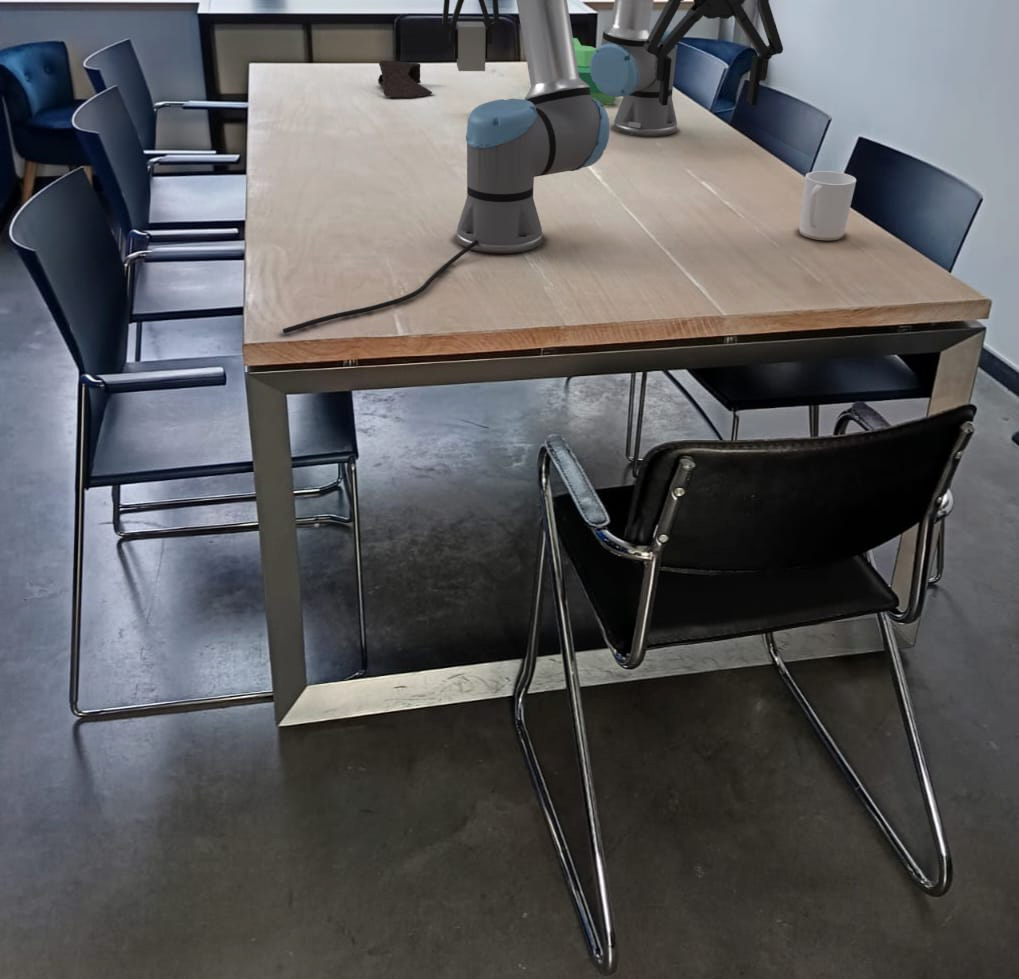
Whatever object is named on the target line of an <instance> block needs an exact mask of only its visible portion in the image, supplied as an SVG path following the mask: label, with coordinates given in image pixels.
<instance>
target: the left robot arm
mask: <svg viewBox="0 0 1019 979" xmlns="http://www.w3.org/2000/svg"><path fill="white" fill-rule="evenodd" d="M684 1H685V0H667V1H666V3H665V6H664V7H663V9H662V11H661V12H660V14H659V16H658V18H657V20H656V22H655V24H654V25H653V28H651V29H652V31H651V33H650V35H649V37H648V39H647V40H646V42H645V44H644V49H645V50H646V51H647V52H648V53H650V54H653V55H655V57H656V59H655V71H654V76H655V79H656V80H657V81H660V90H659V102H660V103H661V105H667V103H668V92H669V81H670V70H671V58H670V57H668V56H667V55H668V54H669V53H670V51H671V50H672V49H673V48H674V47H675V46H676V45H677V46H678V44H679V42H681V40H682V39H683V38H684V37H685V36H686V34H688V32H689V31H690V30H691V29H692V28H693V27H694V26H695V24H696V23H697V22H699V21H700V20H701V19H702V18H703V17H704V18H706V19H708V20H709V19H710V20H711V19H716V18H717V19H718V18H720V19H724V20H728V19H730V18H732V17H734V19H735V20H736V21H737V23H738V25H739V26H740V28H741V29H742V31H743V32H744V34H745V36H746V37H747V39H748V40H749V42H750V43H751V45H752V46H753V48H754V49H755V51H756V53H757V54H758V55H752V57H751V65H750V70H749V71H750V72H749V79H748V80H749V81H748V88H747V96H746V102H747V103H748V104H749V105H751V106H757V105H758V98H759V90H760V82H764V81H766V79H767V77H768V76H767V75H768V68H769V62H770V59H771V58H773V56H775V55H780V54H782V53H783V51H784V47H783V43H782V40H781V37H780V33H779V30H778V28H777V24H776V21H775V17H774V14H773V11H772V8H771V5H770V0H753V2H755V4H756V8H757V10H758V14H759V17H760V20H761V23H762V27H763V30H764V33H765V36H766V39H767V42H768V45H766V43H765V41H764V39H763V38H762V36H761V35H760V34H759V32H758V29H756V27H755V25H754V24H753V23H752V21H751V19H750V18H749V16H748V13H747V12H746V10H745V9H744V7H743V6H742V5H743V4H744V3H745V1H746V0H692V1H693V4H692V5H691V7H690V8H688V10H687V12H686V14H685V15H684V16H683V17H682V18H681V19H680V21H679V22H678V23H677V24H676V25H675V26H674V27H673V29H672V30H670V31H671V32H670V33H669V35H668V36H667V37H666V38H665V39H664V40H663V41H662V43H661V44H660V45H659V46H658V44H659V42H660V41H661V39H662V37H663V35H664V33H665V31H668V29H669V26H670V24H671V22H672V21H673V19H674V17H675V15H676V13H677V12H678V9H679V7H680V5H681V3H682V2H684ZM516 6H517V7H516V8H517V13H518V18H519V22H520V23H519V24H520V30H521V36H522V41H523V48H524V53H525V59H526V65H527V70H528V78H529V82H530V83H529V84H530V88H529V90H528V92H527V94H526V95H525V97H524V99H522V98H508V99H504V98H503V99H495V100H491V101H488V102H484V103H482V104H480V105H478V106H476V107H475V108H474V109H472V110H471V112H470V113H469V115H468V117H467V123H466V124H467V126H466V135H465V141H466V192H467V193H466V198H465V202H464V205H463V209H462V211H461V214H460V218H459V220H458V224H457V228H456V241H457V243H458V244H459V245H461V246H462V247H464V248H463V249H462V250H460V251H459V252H458V253H456V254H455V255H454V256H452V257H451V258H450V259H449V260H448V261H447V262H446V263H444V264H443V265H442V266H441V267H440V268H439V269H438V270H437V271H435V272H434V273H433V274H432V275H431V276H430V277H429V278H428V279H427V280H426V281H425V282H424V283H423V285H421V286H420V287H419V288H418V289H416V290H413V291H412V292H411V293H408V294H406V295H403V296H401V297H398V298H395V299H391V300H388V301H384V302H381V303H378V304H374V305H370V306H366V307H361V308H356V309H349V310H345V311H341V312H336V313H332V314H328V315H324V316H320V317H317V318H314V319H310V320H307V321H304V322H300V323H297V324H294V325H291V326H287V327H285V328H282V333H283V334H288V333H291V332H295V331H299V330H302V329H305V328H307V327H310V326H314V325H317V324H321V323H324V322H328V321H331V320H335V319H339V318H345V317H350V316H356V315H359V314H363V313H369V312H372V311H377V310H379V309H383V308H386V307H390V306H394V305H397V304H400V303H402V302H407V301H408V300H410V299H412V298H414V297H416V296H418V295H419V294H421V293H423V292H424V291H425V290H426V289H427V288H428V287H429V286H431V284H432V282H433V281H435V280H436V279H437V278H438V277H439V276H440V275H441V274H442V273H443V272H444V271H445V270H447V269H448V268H449V267H450V266H451V265H452V264H454V263H455V262H456V261H458V260H459V259H460V258H461V257H462V256H464V255H465V254H467V253H468V252H469V251H475V252H479V253H486V254H497V255H499V254H500V255H506V254H507V255H508V254H517V253H524V252H527V251H530V250H533V249H536V248H538V247H539V246H540V245H541V244H542V243H543V229H542V224H541V221H540V220H541V219H540V218H539V214H538V213H539V212H538V210H537V206H536V204H535V199H534V184H535V181H534V180H535V178H536V177H543V176H548V175H549V176H550V175H554V174H560V173H565V172H575V171H579V170H581V169H583V168H587V167H590V166H593V165H594V164H596V163H597V162H598V161H599V160H600V159H601V158H602V156H603V155H604V152H605V151H606V150H607V147H608V143H609V139H610V118H609V114H608V112H607V109H606V108H605V107H603V104H601V103H600V102H599V101H598V100H595V99H593V98H591V94H590V87H589V85H588V84H586V83H585V82H584V81H582V80H581V79H580V77H579V73H578V67H577V61H576V54H575V48H574V42H573V38H574V37H573V36H574V35H573V30H572V22H571V17H570V10H569V4H568V0H516Z"/></svg>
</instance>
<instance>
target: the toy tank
mask: <svg viewBox="0 0 1019 979" xmlns="http://www.w3.org/2000/svg"><path fill="white" fill-rule="evenodd" d="M573 42H574V48H575V54H576V61H577V67H578V73H579V77H580V79H581V80H582V81H584V82H585V83H586V84H588V85H589V87H590V94H591V98H593V99H595V100H598V101H599V102H600V103H601V104H602V105H614V104H615V98H616V97H611V96H608V95H606V94H604V93H603V92H601V91H600V90H599V89H598V88H597V86H596V84H595V83H594V82H593V80H592V77H591V73H590V61H591V58H592V55H593V54H594V52H595V51H596V50H597V49H598V48H596V47H593V46H589V45H582V44H581V42H580V41H579V39H578V37H573Z"/></svg>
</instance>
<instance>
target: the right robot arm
mask: <svg viewBox="0 0 1019 979" xmlns="http://www.w3.org/2000/svg"><path fill="white" fill-rule="evenodd" d="M450 1H451V0H443V7H442V8H443V9H442V19H441V21H442V22H441V24H442V27H443V28H446V29H448V30H449V43H450V45H454V46H453V54H454V55H453V57H454V59H455V60H457V59H458V29H457V22H458V20H459V17H460V15H461V12H462V8H463V4H464V2H465V0H457V1H456V4H455V8H454V11H453V13H452V16H451V19H450V21H449V13H450ZM477 1H478V3H479V6H480V10H481V14H482V16H483V19H484V24H485V27H486V33H485V60H488V45H492V43H493V30H495V29H498V28H500V26H501V23H500V22H501V21H500V11H499V0H491V3H492V16H493V22H491V18H490V15H489V12H488V9H487V5H486V2H485V0H477ZM654 1H655V0H614V1H613V2H614V3H613V9H612V15H611V21H610V22H609V24H608V25H606V26H605V27H604V28H603V31H602V37H601V43H600V44H601V45H600V46H599V47H597V48H596V49H597V50H596V51H595V52H594V54H593V55H592V58H591V61H590V73H591V77H592V80H593V82H594V83H595V84H596V86H597V88H598V89H599V90H600V91H601V92H603V93H604V94H606V95H608V96H611V97H615V98H619V97H622V99H621V102H620V104H619V107H618V110H617V113H616V115H615V118H614V122H613V128H614V130H615V131H617V132H619V133H620V134H625V135H629V136H636V137H664V136H669V135H672V134H675V133H676V132H677V129H678V128H677V127H678V121H677V116H676V111H675V107H674V101H673V90H674V80H675V70H676V60H677V52H678V44H677V45H676V46H675V47H674V48H673V49H672V50H671V51H670V53H669V54H668V55H667V56H668V57H670V58H671V70H670V81H669V92H668V103H667V105H661V103H660V102H659V90H660V81H657V80H656V79H655V76H654V71H655V59H656V57H655V55H653V54H650V53H648V52H647V51H646V50H645V49H644V44H645V42H646V40H647V39H648V37H649V35H650V33H651V31H652V29H653V28H650V25H651V20H652V14H653V13H652V12H653V8H654ZM671 31H672V30H666V31H665V33H664V35H663V37H662V39H661V41H660V42H659V44H658V46H659V45H660V44H661V43H662V41H663V40H664V39H665V38H666V37H667V36H668V35H669V33H670V32H671Z"/></svg>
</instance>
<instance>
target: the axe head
mask: <svg viewBox="0 0 1019 979" xmlns="http://www.w3.org/2000/svg"><path fill="white" fill-rule="evenodd" d="M378 66H379V68H380V72H381V74H379V75H378V79H377V84H378V85H379V86H380V87H381V88H382V89H383V95H384V96H385V97H388V98H394V99H395V98H396V99H403V98H405V99H406V98H407V99H411V98H418V97H425V96H429V95H432V94H433V91H431V90H430V89H428V88H427V87H425V86H422V85H421V84H422V82H421V63H419V62H410V61H408V62H407V61H397V60H388V59H387V60H380V61H379V62H378Z"/></svg>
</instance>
